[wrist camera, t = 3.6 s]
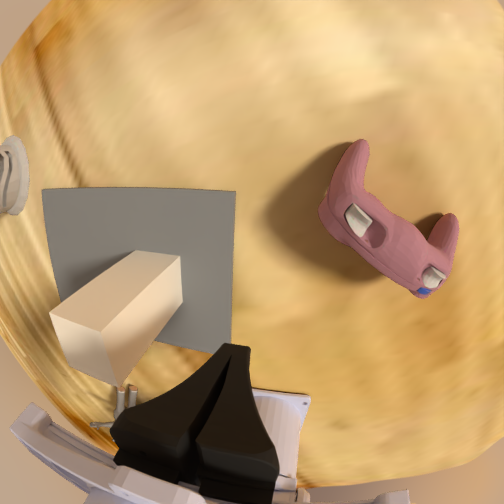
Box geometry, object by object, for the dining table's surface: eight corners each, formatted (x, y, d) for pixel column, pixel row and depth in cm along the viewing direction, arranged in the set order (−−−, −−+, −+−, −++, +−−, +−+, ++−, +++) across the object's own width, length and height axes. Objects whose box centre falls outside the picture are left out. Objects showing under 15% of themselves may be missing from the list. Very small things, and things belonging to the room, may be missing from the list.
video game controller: (321, 178, 19) (297, 240, 14) (356, 128, 15) (348, 176, 11) (420, 250, 19) (424, 323, 14) (459, 215, 15) (480, 288, 11)
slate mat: (230, 353, 23) (229, 356, 23) (66, 310, 26) (64, 312, 26) (235, 191, 18) (234, 192, 18) (44, 189, 21) (41, 189, 21)
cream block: (182, 301, 22) (119, 388, 12) (140, 293, 22) (69, 366, 13) (180, 256, 20) (100, 331, 11) (135, 250, 21) (48, 312, 12)
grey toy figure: (173, 400, 28) (166, 448, 28) (157, 374, 33) (151, 422, 33) (90, 400, 22) (94, 452, 22) (85, 371, 27) (87, 422, 27)
